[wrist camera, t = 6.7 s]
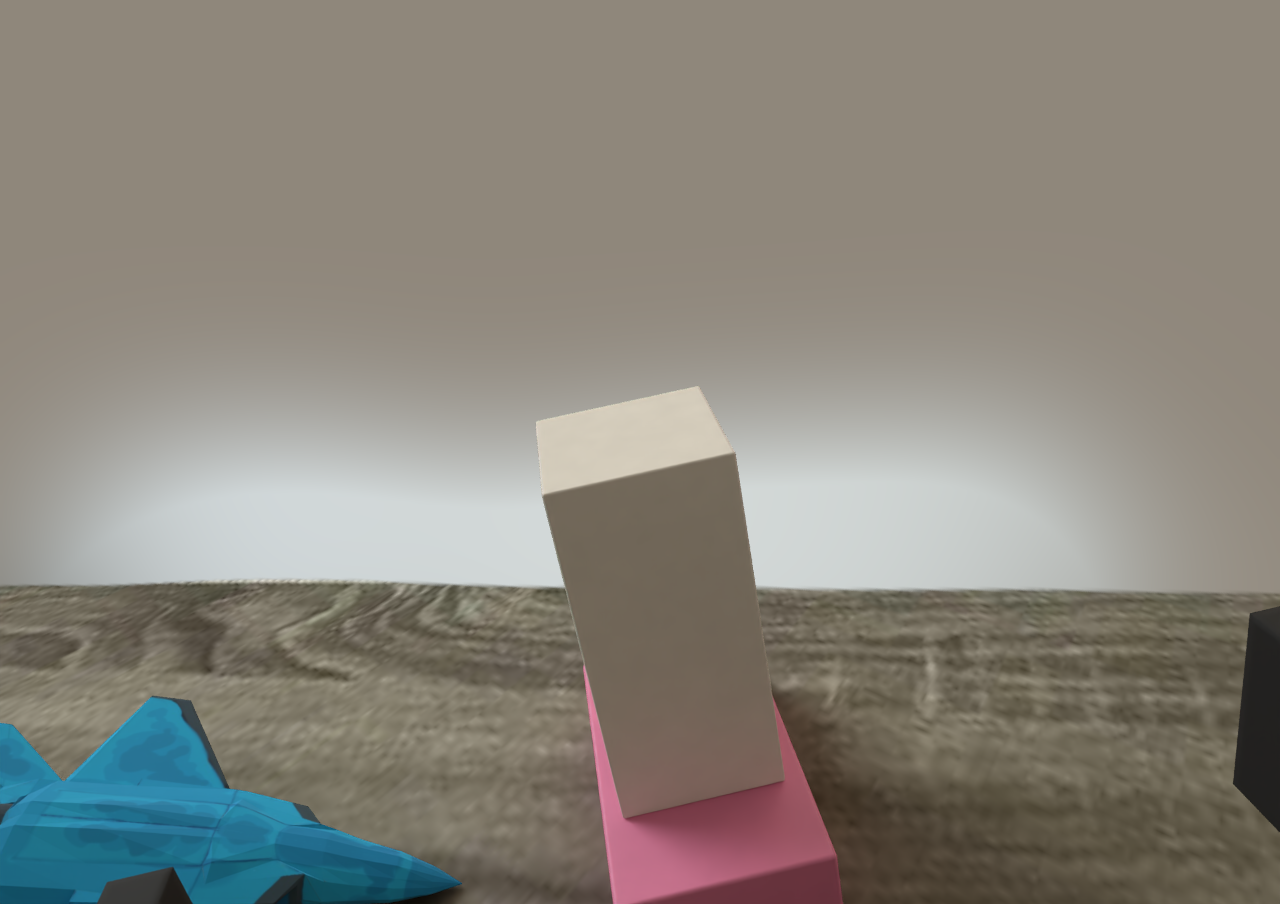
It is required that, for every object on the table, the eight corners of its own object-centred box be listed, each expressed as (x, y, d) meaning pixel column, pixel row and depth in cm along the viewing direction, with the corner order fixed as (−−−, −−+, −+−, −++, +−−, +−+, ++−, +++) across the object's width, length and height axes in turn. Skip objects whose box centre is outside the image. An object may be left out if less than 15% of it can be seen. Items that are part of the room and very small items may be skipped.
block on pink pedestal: (597, 721, 27) (513, 389, 23) (754, 684, 27) (700, 349, 23) (632, 978, 20) (518, 561, 16) (846, 925, 20) (792, 500, 16)
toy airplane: (-120, 1284, 17) (-252, 1143, 15) (-118, 930, 24) (-207, 807, 23) (465, 888, 23) (418, 752, 21) (321, 699, 30) (278, 586, 28)
